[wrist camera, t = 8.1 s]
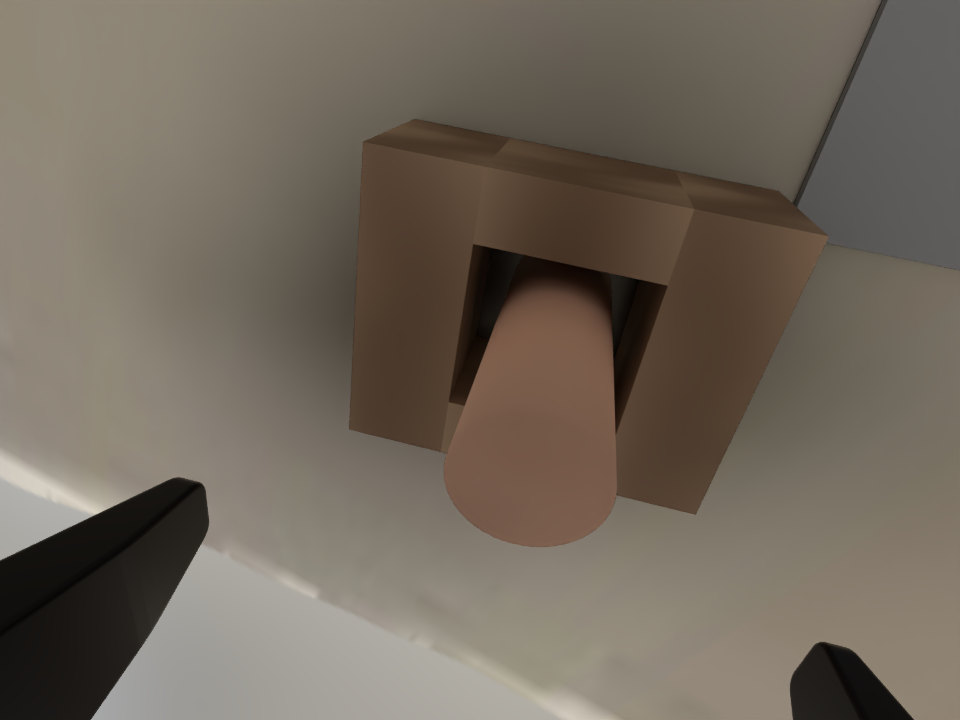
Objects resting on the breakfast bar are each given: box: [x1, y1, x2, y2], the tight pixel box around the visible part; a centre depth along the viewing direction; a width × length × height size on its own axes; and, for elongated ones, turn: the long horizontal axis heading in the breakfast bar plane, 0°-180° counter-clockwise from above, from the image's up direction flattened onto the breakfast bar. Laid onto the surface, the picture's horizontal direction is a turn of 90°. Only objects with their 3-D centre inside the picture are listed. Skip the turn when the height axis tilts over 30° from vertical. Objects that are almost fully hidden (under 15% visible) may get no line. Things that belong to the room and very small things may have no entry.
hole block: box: [349, 119, 829, 515], centre depth 16 cm, size 10×8×4 cm
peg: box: [444, 255, 617, 547], centre depth 14 cm, size 3×3×9 cm
